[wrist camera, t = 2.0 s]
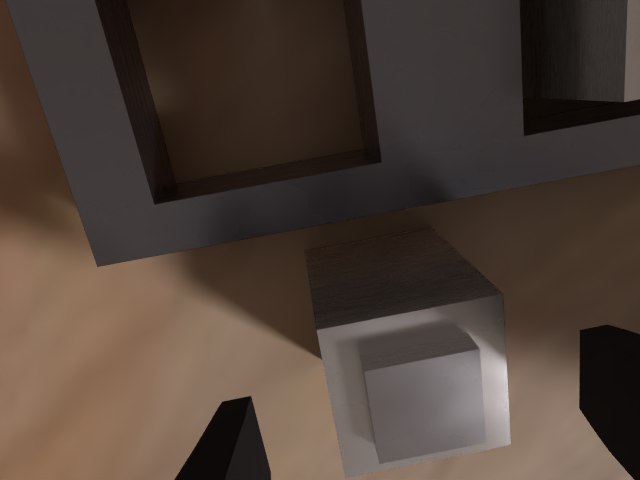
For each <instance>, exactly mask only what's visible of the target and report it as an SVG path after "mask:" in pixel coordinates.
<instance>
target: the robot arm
mask: <svg viewBox="0 0 640 480" xmlns="http://www.w3.org/2000/svg"><path fill="white" fill-rule="evenodd" d="M579 408H580V410H581V411H582V413H583V414H584V416H585V417H586V419H587V420H588V422H589V423H590V425H591V426H592V428H593V429H594V431H595V432H596V433H597V435H598V436H599V438H600V439H601V440H602V442H603V443H604V445H605V446H606V447H607V449H608V450H609V451H610V452H611V454H612V455H613V456H614V457H615V458H616V459H617V461H618V462H619V463H620V464H621V465H622V466H623V467H624V468H625V470H626V471H627V472H628V473H629V474H630V475H631V476H632V477H633V479H634V480H640V334H637V333H634V332H631V331H628V330H625V329H621V328H618V327H614V326H610V325H604V326H599V327H594V328H589V329H584V330H580V399H579ZM175 480H271V471H270V468H269V464H268V460H267V456H266V452H265V448H264V444H263V441H262V437H261V433H260V429H259V425H258V421H257V417H256V414H255V410H254V406H253V402H252V398H251V396H249V397H244V398H239V399H234V400H229V401H224V402H222V403H221V405H220V406H219V407H218V409H217V411H216V412H215V414H214V416H213V418H212V419H211V421H210V423H209V424H208V426H207V428H206V430H205V431H204V433H203V435H202V436H201V438H200V440H199V441H198V443H197V445H196V446H195V448H194V450H193V451H192V453H191V454H190V456H189V458H188V459H187V461H186V462H185V464H184V465H183V467H182V469H181V470H180V472H179V473H178V475H177V476H176V478H175Z"/></svg>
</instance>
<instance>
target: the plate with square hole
mask: <svg viewBox="0 0 640 480" xmlns="http://www.w3.org/2000/svg"><path fill="white" fill-rule="evenodd" d="M5 1H6V4H7V7H8V10H9V13H10V16H11V19H12V21H13V24H14V27H15V30H16V33H17V36H18V39H19V42H20V45H21V47H22V50H23V53H24V56H25V59H26V62H27V65H28V68H29V71H30V73H31V76H32V79H33V82H34V85H35V88H36V91H37V94H38V97H39V99H40V102H41V105H42V108H43V111H44V114H45V117H46V120H47V122H48V125H49V128H50V131H51V134H52V137H53V140H54V143H55V146H56V148H57V151H58V154H59V157H60V160H61V163H62V166H63V169H64V172H65V174H66V177H67V180H68V183H69V186H70V189H71V192H72V195H73V198H74V200H75V203H76V206H77V209H78V212H79V215H80V218H81V221H82V223H83V226H84V229H85V232H86V235H87V238H88V241H89V244H90V247H91V249H92V252H93V255H94V258H95V261H96V264H97V267H99V266H105V265H110V264H115V263H121V262H126V261H131V260H137V259H142V258H147V257H153V256H158V255H163V254H168V253H174V252H179V251H184V250H190V249H195V248H200V247H206V246H211V245H216V244H222V243H227V242H232V241H238V240H243V239H248V238H254V237H259V236H264V235H269V234H275V233H280V232H285V231H291V230H296V229H301V228H307V227H312V226H317V225H323V224H328V223H333V222H339V221H344V220H349V219H355V218H360V217H365V216H370V215H376V214H381V213H386V212H392V211H397V210H402V209H408V208H413V207H418V206H424V205H429V204H434V203H440V202H445V201H450V200H456V199H461V198H466V197H471V196H477V195H482V194H487V193H493V192H498V191H503V190H509V189H514V188H519V187H525V186H530V185H535V184H541V183H546V182H551V181H557V180H562V179H567V178H572V177H578V176H583V175H588V174H594V173H599V172H604V171H610V170H615V169H620V168H626V167H631V166H636V165H640V99H638V100H633V101H627V102H617V103H612V104H606V105H601V106H595V107H590V108H585V109H579V110H574V111H568V112H563V113H558V114H552V115H547V116H541V117H536V118H530V119H525V120H523V94H522V62H521V30H520V0H343V1H344V9H345V16H346V23H347V30H348V37H349V45H350V52H351V59H352V66H353V73H354V80H355V88H356V95H357V102H358V109H359V116H360V124H361V131H362V138H363V145H364V149H362V150H357V151H351V152H346V153H341V154H335V155H330V156H324V157H319V158H313V159H308V160H303V161H297V162H292V163H286V164H281V165H276V166H270V167H265V168H259V169H254V170H248V171H243V172H238V173H232V174H227V175H221V176H216V177H210V178H205V179H200V180H194V181H189V182H183V183H178V184H176V182H175V179H174V175H173V171H172V168H171V164H170V160H169V157H168V153H167V149H166V146H165V142H164V138H163V135H162V131H161V127H160V124H159V120H158V116H157V113H156V109H155V105H154V102H153V98H152V94H151V91H150V87H149V83H148V80H147V76H146V72H145V69H144V65H143V61H142V58H141V54H140V50H139V47H138V43H137V39H136V36H135V32H134V28H133V25H132V21H131V17H130V14H129V10H128V6H127V3H126V0H5Z"/></svg>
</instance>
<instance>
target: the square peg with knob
mask: <svg viewBox="0 0 640 480" xmlns="http://www.w3.org/2000/svg"><path fill="white" fill-rule="evenodd" d="M520 30H521V62H522V94H523V97H529V98H550V99H570V100H591V101H612V102H627V101H633V100H638V99H640V0H520Z"/></svg>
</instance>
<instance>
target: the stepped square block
mask: <svg viewBox="0 0 640 480" xmlns="http://www.w3.org/2000/svg"><path fill="white" fill-rule="evenodd" d="M305 258H306V265H307V271H308V278H309V284H310V291H311V297H312V304H313V310H314V317H315V323H316V330H317V335H318V340H319V345H320V350H321V355H322V361H323V366H324V371H325V376H326V381H327V386H328V391H329V396H330V401H331V406H332V411H333V417H334V422H335V427H336V432H337V437H338V442H339V447H340V452H341V457H342V462H343V468H344V473H345V478H349V477H354V476H359V475H364V474H369V473H374V472H379V471H384V470H389V469H394V468H399V467H404V466H409V465H413V464H418V463H423V462H428V461H433V460H438V459H443V458H448V457H453V456H458V455H463V454H468V453H473V452H478V451H483V450H488V449H493V448H498V447H503V446H508V445H511V440H510V421H509V401H508V381H507V361H506V342H505V322H504V302H503V294H502V293H501V292H500V291H499V290H498V289H497V288H496V287H495V286H494V285H493V284H492V283H491V282H490V281H489V280H488V279H486V278H485V277H484V276H483V275H482V274H481V273H480V272H479V271H478V270H477V269H476V268H475V267H474V266H473V265H472V264H470V263H469V262H468V261H467V260H466V259H465V258H464V257H463V256H462V255H461V254H460V253H459V252H458V251H457V250H455V249H454V248H453V247H452V246H451V245H450V244H449V243H448V242H447V241H446V240H445V239H444V238H443V237H442V236H441V235H439V234H438V233H437V232H436V231H435V230H434V229H433V228H432V227H428V228H423V229H418V230H413V231H407V232H402V233H397V234H392V235H386V236H381V237H376V238H371V239H365V240H360V241H355V242H350V243H344V244H339V245H334V246H329V247H323V248H318V249H313V250H308V251H305Z"/></svg>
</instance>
